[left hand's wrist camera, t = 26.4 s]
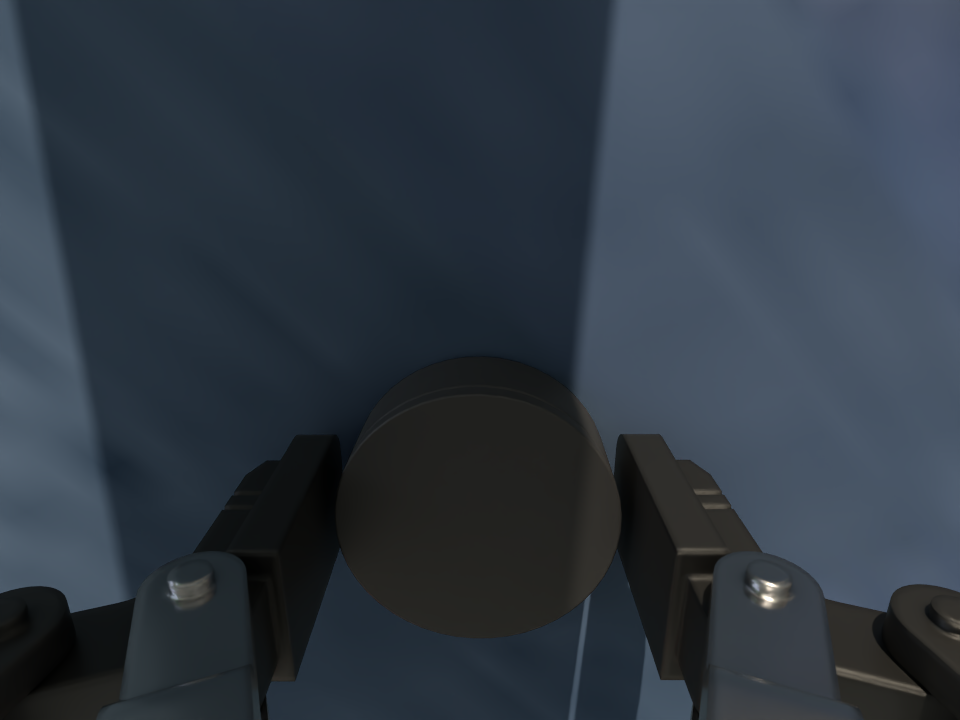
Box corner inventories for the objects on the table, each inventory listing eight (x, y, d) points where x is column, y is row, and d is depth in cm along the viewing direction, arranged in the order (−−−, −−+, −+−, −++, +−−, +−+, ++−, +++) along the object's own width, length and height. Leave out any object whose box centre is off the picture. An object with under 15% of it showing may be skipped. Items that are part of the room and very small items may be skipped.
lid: (617, 360, 11) (638, 400, 10) (592, 578, 13) (606, 645, 11) (351, 350, 11) (325, 388, 10) (360, 568, 13) (340, 633, 11)
